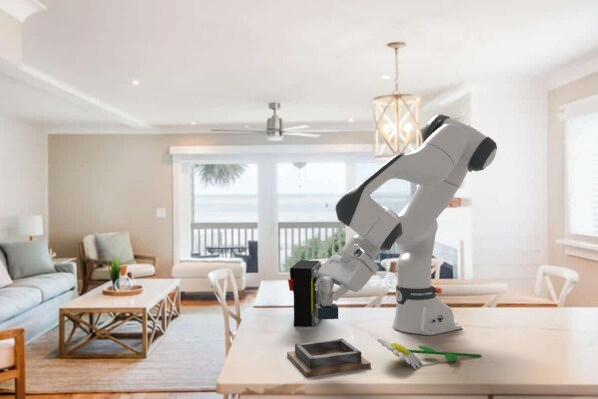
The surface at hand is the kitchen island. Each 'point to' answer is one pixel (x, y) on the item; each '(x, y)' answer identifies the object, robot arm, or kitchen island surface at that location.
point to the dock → (327, 357)
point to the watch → (326, 299)
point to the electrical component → (305, 292)
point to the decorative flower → (413, 359)
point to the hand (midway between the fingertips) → (324, 295)
